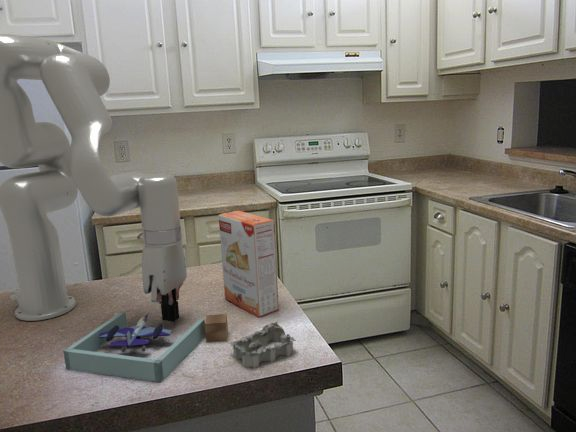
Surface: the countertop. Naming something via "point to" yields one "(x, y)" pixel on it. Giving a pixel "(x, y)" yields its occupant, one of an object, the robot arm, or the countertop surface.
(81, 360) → the green u-shaped frame
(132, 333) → the toy airplane
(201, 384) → the countertop surface
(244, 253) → the cracker box
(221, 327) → the walnut block
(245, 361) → the egg carton
